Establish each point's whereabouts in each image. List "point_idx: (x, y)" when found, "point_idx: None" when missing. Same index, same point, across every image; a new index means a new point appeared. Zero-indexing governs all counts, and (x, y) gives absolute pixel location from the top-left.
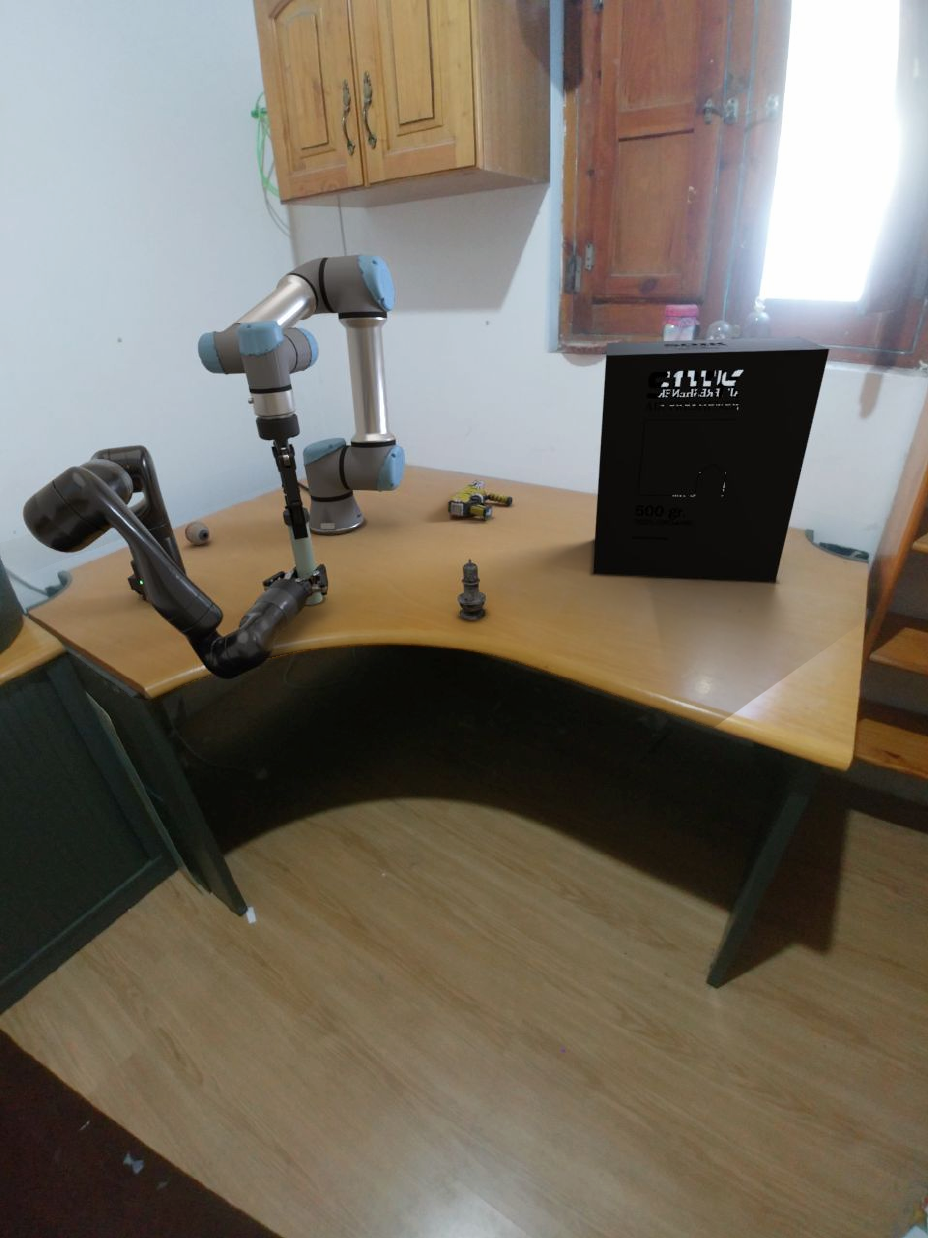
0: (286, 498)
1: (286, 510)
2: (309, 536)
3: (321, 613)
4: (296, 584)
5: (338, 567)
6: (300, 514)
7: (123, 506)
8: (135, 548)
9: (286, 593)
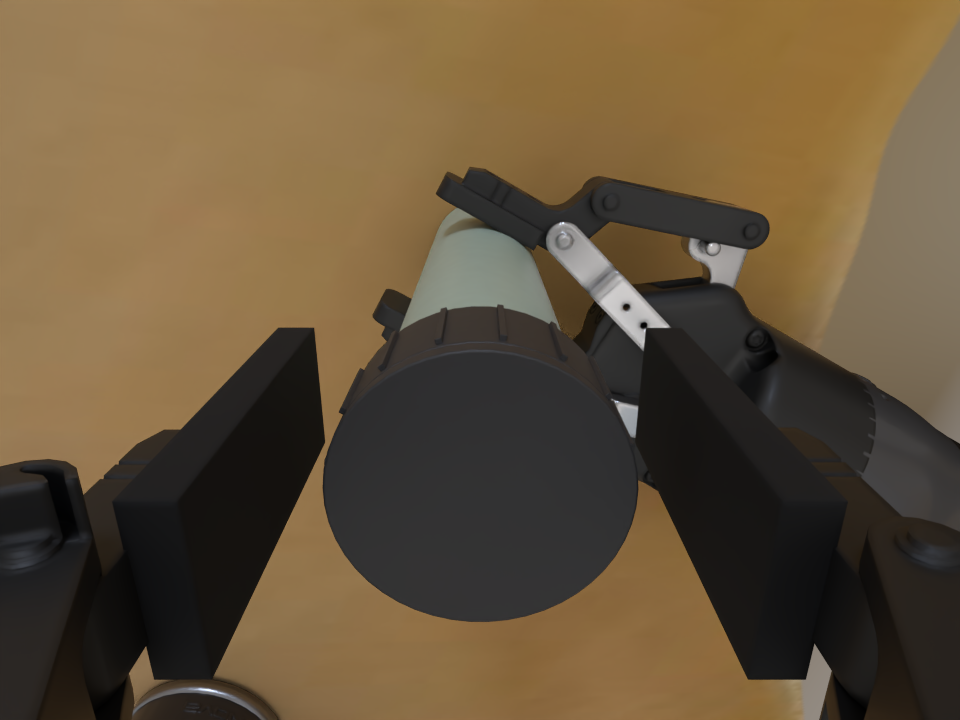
0: (225, 637)
1: (405, 582)
2: (527, 296)
3: (628, 227)
4: (793, 387)
5: (118, 53)
6: (871, 496)
7: None
8: None
9: (885, 448)
